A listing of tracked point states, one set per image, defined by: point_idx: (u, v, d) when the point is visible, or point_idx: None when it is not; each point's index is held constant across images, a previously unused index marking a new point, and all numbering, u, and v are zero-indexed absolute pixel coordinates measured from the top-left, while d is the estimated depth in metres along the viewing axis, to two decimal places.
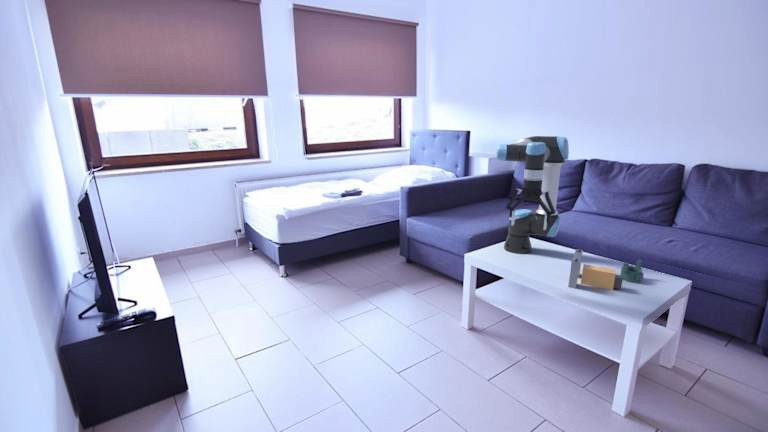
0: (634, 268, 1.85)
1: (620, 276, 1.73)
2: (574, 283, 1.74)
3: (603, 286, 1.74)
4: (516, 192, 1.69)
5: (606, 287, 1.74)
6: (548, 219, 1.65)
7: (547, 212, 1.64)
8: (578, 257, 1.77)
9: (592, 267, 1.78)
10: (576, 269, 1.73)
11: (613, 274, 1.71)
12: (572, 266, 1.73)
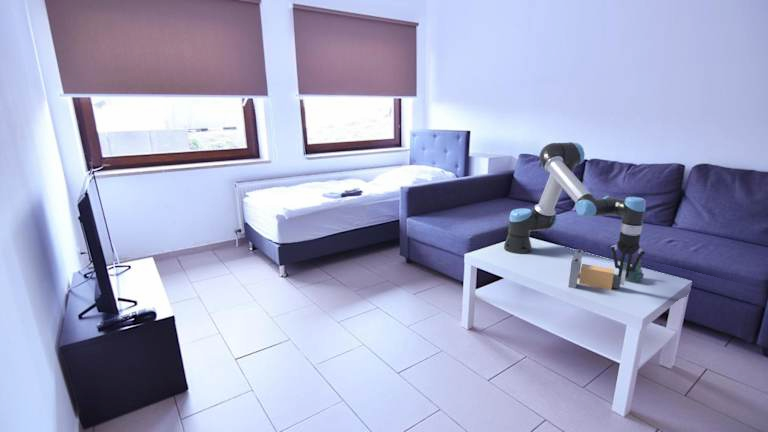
0: None
1: (618, 276, 1.73)
2: (574, 283, 1.74)
3: (601, 286, 1.74)
4: (613, 249, 1.70)
5: (604, 287, 1.74)
6: (627, 275, 1.70)
7: (628, 268, 1.69)
8: (578, 257, 1.77)
9: (591, 267, 1.78)
10: (576, 269, 1.73)
11: (611, 274, 1.71)
12: (572, 266, 1.73)
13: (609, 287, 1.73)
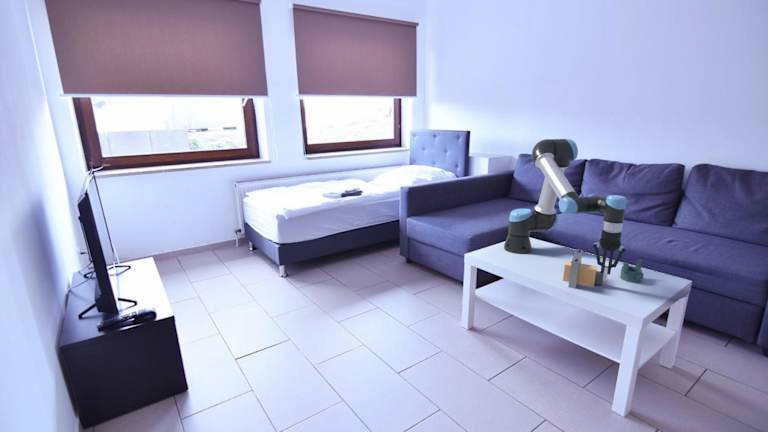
0: (634, 268, 1.85)
1: None
2: (574, 283, 1.74)
3: (584, 282, 1.78)
4: (596, 246, 1.74)
5: (587, 283, 1.77)
6: (609, 271, 1.74)
7: (610, 265, 1.73)
8: (578, 257, 1.77)
9: None
10: (576, 269, 1.73)
11: (594, 270, 1.75)
12: (572, 266, 1.73)
13: (592, 284, 1.76)
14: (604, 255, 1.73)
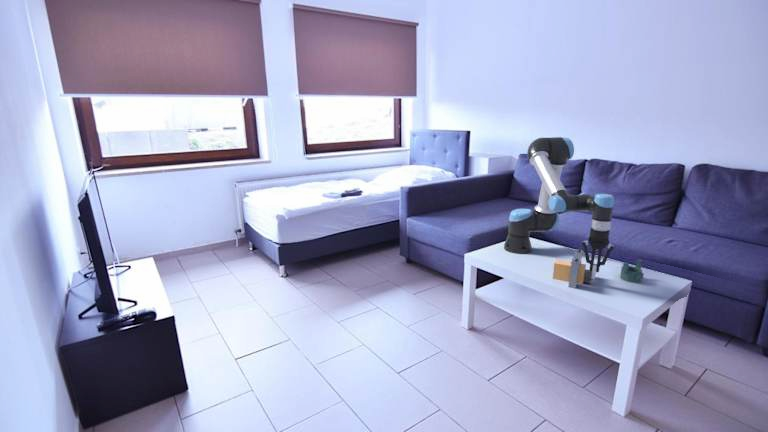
0: (634, 268, 1.85)
1: (590, 271, 1.78)
2: (574, 283, 1.74)
3: None
4: (584, 244, 1.76)
5: None
6: (598, 269, 1.76)
7: (598, 263, 1.75)
8: (578, 257, 1.77)
9: (564, 262, 1.84)
10: (576, 269, 1.73)
11: (583, 269, 1.77)
12: (572, 266, 1.73)
13: (581, 282, 1.79)
14: (593, 253, 1.75)
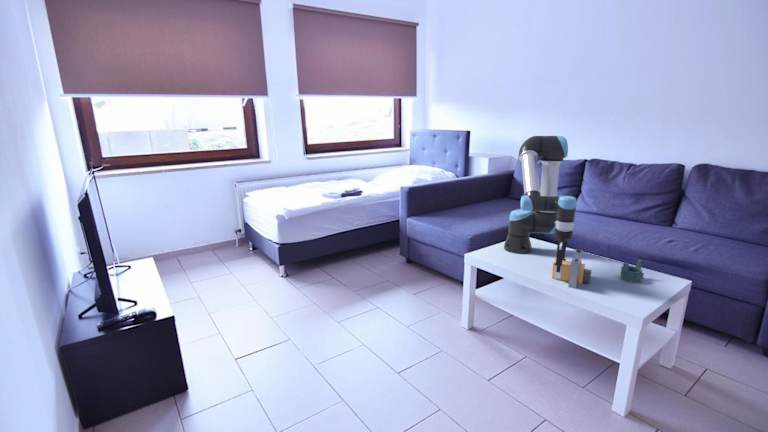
0: (634, 268, 1.85)
1: (589, 270, 1.79)
2: (574, 283, 1.74)
3: None
4: None
5: None
6: (556, 269, 1.82)
7: None
8: (578, 257, 1.77)
9: (563, 262, 1.84)
10: (576, 269, 1.73)
11: (582, 268, 1.77)
12: (572, 266, 1.73)
13: (580, 281, 1.79)
14: None
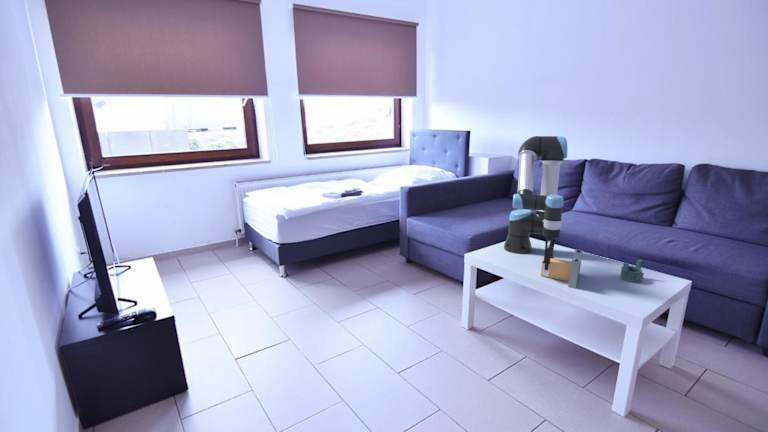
0: (634, 268, 1.85)
1: None
2: (574, 283, 1.74)
3: (561, 277, 1.83)
4: None
5: (564, 278, 1.83)
6: (545, 267, 1.85)
7: None
8: (578, 257, 1.77)
9: (552, 259, 1.86)
10: (576, 269, 1.73)
11: (570, 266, 1.80)
12: (572, 266, 1.73)
13: (568, 279, 1.82)
14: None
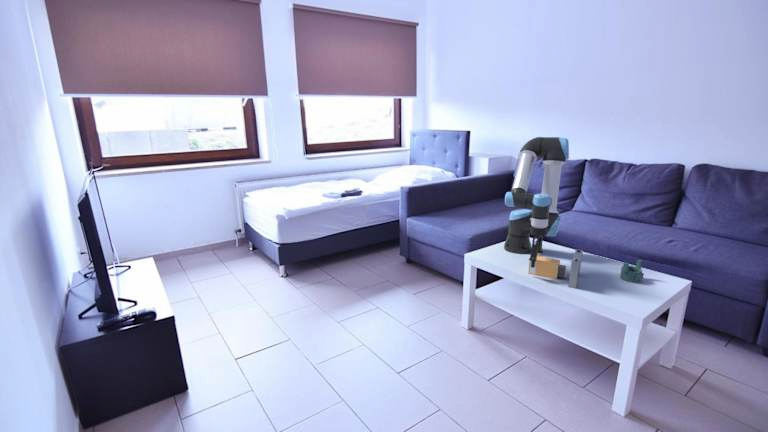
0: (634, 268, 1.85)
1: (563, 266, 1.84)
2: (574, 283, 1.74)
3: (548, 275, 1.86)
4: None
5: (550, 276, 1.85)
6: (531, 264, 1.85)
7: None
8: (578, 257, 1.77)
9: (539, 258, 1.89)
10: (576, 269, 1.73)
11: (556, 264, 1.83)
12: (572, 266, 1.73)
13: (555, 277, 1.84)
14: None
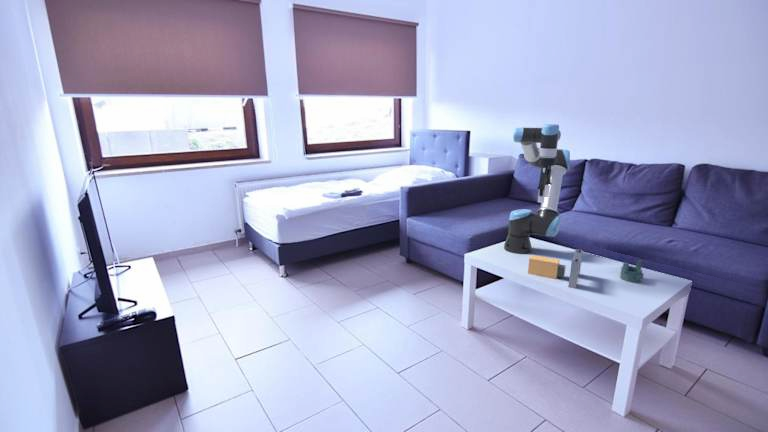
0: (634, 268, 1.85)
1: (563, 266, 1.85)
2: (574, 283, 1.74)
3: (547, 275, 1.86)
4: None
5: (550, 276, 1.86)
6: (539, 193, 1.85)
7: None
8: (578, 257, 1.77)
9: (538, 258, 1.89)
10: (576, 269, 1.73)
11: (556, 264, 1.83)
12: (572, 266, 1.73)
13: (554, 276, 1.85)
14: None
